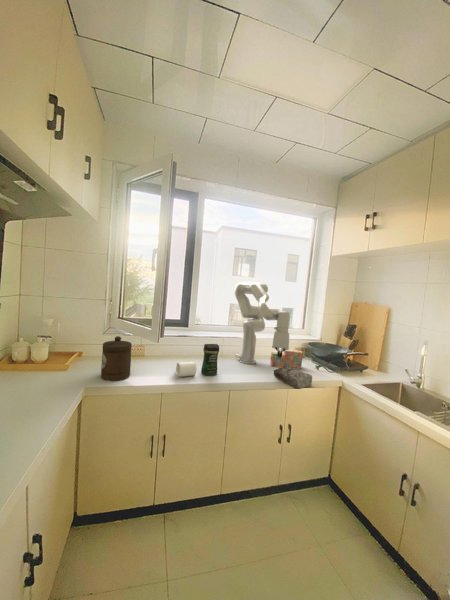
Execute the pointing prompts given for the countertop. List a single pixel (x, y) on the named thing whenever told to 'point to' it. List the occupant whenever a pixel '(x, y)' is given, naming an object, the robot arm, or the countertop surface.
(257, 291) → the robot arm
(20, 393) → the countertop surface
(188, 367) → the mug
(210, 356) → the coffee jar
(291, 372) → the stone block
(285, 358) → the stack of blocks
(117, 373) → the wooden container
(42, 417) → the countertop surface
